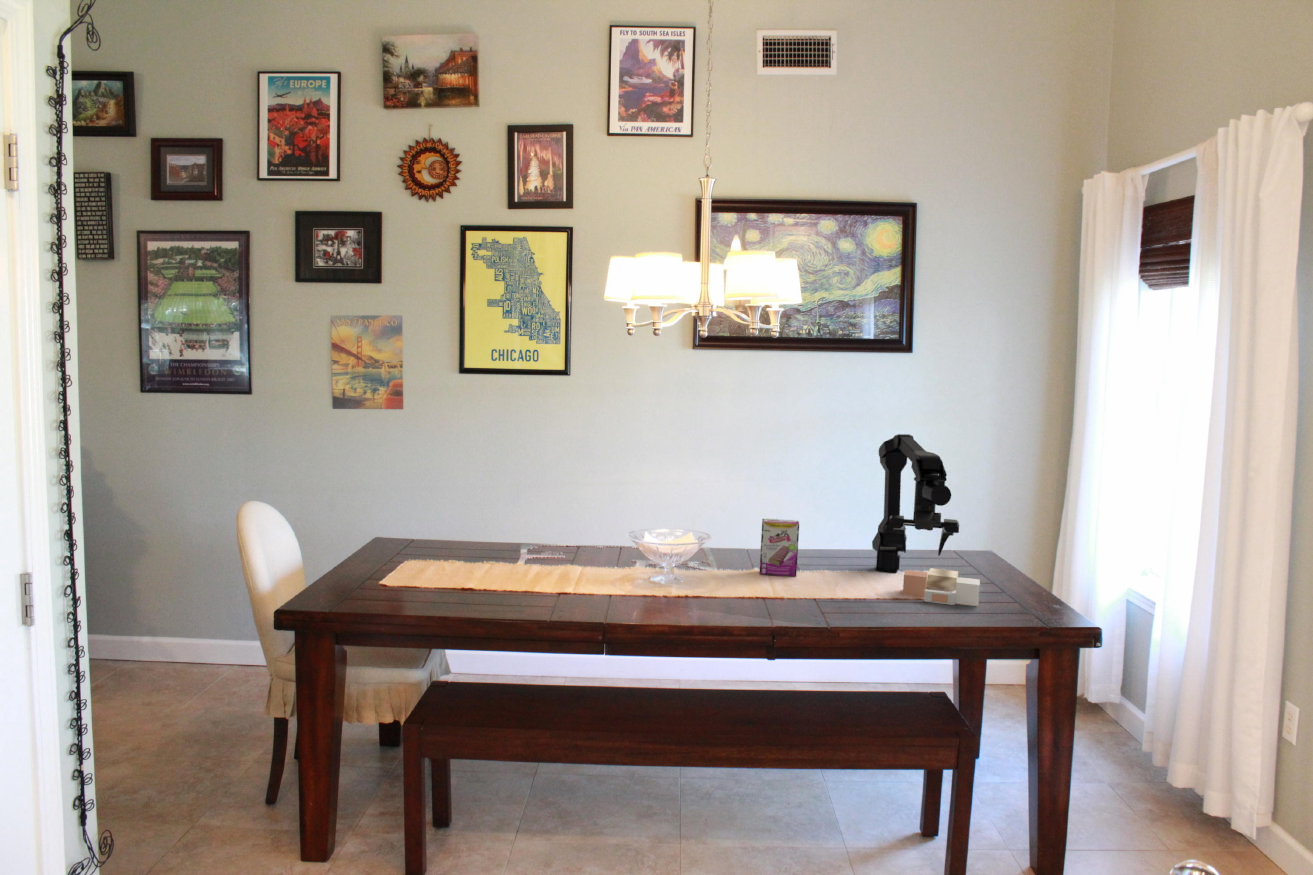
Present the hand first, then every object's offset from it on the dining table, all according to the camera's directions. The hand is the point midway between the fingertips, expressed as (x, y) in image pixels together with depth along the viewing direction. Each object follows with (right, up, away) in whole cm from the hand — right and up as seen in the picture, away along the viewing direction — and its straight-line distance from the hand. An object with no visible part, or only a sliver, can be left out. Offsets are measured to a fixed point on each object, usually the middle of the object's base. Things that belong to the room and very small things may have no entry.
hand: (921, 553), depth 255 cm
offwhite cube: (+11, -13, -6) cm, 17 cm away
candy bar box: (-38, -9, +18) cm, 43 cm away
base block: (+9, -11, +10) cm, 18 cm away
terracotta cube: (-2, -11, +1) cm, 12 cm away
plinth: (+3, -12, -7) cm, 15 cm away
